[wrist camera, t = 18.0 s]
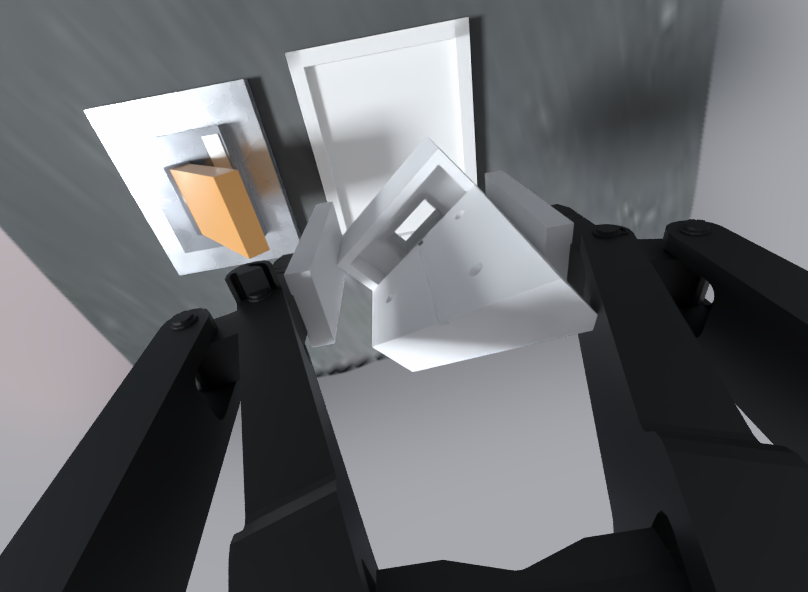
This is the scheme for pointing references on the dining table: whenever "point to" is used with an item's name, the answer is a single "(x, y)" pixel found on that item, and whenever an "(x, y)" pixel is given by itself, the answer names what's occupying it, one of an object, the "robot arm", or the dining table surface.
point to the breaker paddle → (218, 206)
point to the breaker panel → (201, 145)
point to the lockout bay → (385, 110)
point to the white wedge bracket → (453, 271)
